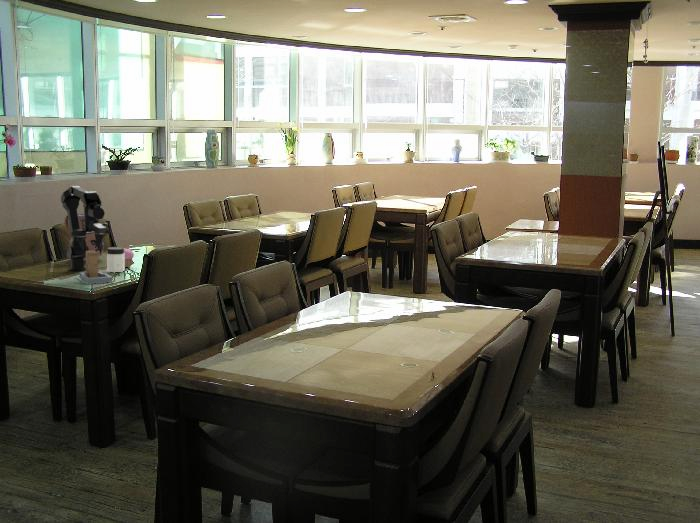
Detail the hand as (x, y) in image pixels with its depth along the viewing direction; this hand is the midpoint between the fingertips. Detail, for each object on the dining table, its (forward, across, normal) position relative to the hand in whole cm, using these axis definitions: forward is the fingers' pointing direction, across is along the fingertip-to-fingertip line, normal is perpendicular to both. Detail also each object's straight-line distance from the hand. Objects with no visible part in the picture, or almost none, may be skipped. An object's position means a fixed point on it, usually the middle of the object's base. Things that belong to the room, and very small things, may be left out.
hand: (91, 249), depth 384 cm
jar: (+13, +15, -1) cm, 20 cm away
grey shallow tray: (+13, -7, -10) cm, 18 cm away
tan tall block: (+12, -5, -6) cm, 15 cm away
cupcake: (+13, +26, +4) cm, 29 cm away
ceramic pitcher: (+13, +29, +38) cm, 50 cm away
